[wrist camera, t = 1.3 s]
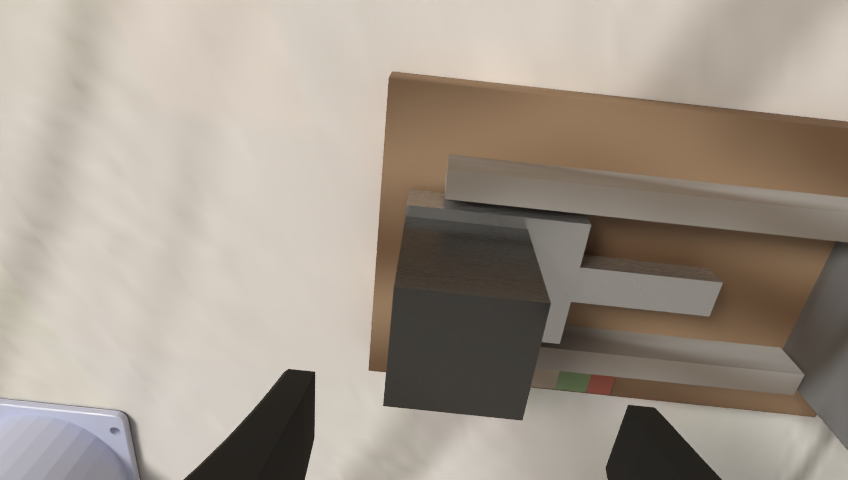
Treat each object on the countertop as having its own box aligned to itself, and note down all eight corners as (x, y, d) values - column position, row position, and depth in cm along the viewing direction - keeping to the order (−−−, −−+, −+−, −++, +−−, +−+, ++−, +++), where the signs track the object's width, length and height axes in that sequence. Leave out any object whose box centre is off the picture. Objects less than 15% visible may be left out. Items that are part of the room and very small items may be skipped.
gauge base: (798, 396, 24) (905, 525, 18) (372, 352, 24) (349, 468, 18) (941, 132, 19) (1153, 200, 13) (392, 71, 18) (368, 114, 13)
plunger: (657, 395, 22) (721, 524, 17) (392, 368, 22) (375, 489, 17) (724, 223, 19) (830, 319, 14) (409, 189, 19) (395, 272, 13)
